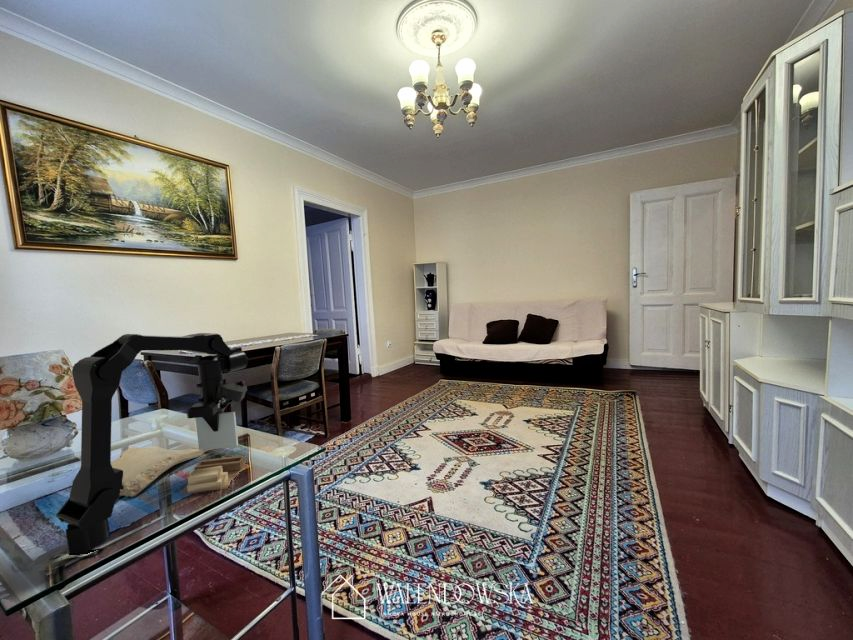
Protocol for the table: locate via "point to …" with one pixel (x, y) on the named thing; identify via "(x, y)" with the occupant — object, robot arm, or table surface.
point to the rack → (228, 465)
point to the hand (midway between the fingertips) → (217, 430)
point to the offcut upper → (205, 475)
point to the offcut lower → (209, 484)
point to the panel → (217, 433)
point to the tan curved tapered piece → (147, 465)
